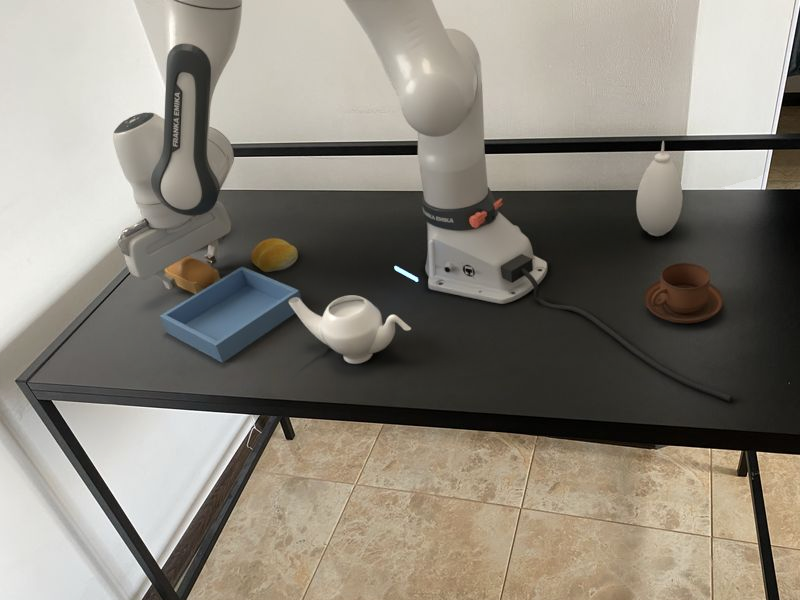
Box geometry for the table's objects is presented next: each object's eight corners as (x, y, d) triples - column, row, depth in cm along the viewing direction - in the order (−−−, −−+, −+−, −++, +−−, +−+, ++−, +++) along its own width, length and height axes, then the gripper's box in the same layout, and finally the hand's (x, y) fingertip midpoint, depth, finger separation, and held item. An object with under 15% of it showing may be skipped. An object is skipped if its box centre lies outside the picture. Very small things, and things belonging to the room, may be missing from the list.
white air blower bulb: (687, 231, 137) (696, 138, 126) (661, 249, 133) (668, 154, 122) (652, 219, 142) (658, 127, 131) (626, 235, 138) (630, 143, 127)
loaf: (224, 284, 139) (216, 260, 136) (201, 298, 136) (191, 274, 133) (189, 268, 145) (180, 245, 142) (166, 282, 142) (156, 258, 139)
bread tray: (304, 309, 130) (299, 290, 127) (223, 365, 120) (215, 345, 117) (248, 285, 138) (242, 266, 135) (167, 335, 128) (159, 315, 125)
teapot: (405, 381, 112) (395, 332, 106) (288, 364, 118) (273, 317, 112) (427, 342, 119) (419, 294, 113) (316, 328, 125) (303, 282, 119)
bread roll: (270, 279, 139) (264, 261, 136) (247, 262, 144) (241, 244, 142) (307, 261, 143) (302, 242, 140) (284, 245, 148) (279, 227, 146)
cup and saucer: (696, 340, 113) (700, 306, 109) (629, 312, 120) (630, 280, 116) (736, 302, 119) (741, 269, 115) (669, 278, 126) (672, 247, 122)
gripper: (124, 239, 123) (154, 307, 131) (223, 187, 135) (245, 253, 143) (104, 230, 126) (135, 297, 135) (203, 180, 138) (225, 245, 147)
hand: (192, 274), depth 139 cm, fingers open, 8 cm apart
